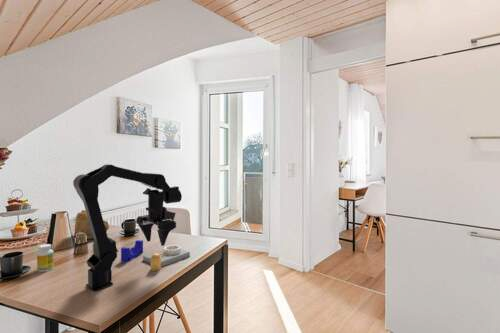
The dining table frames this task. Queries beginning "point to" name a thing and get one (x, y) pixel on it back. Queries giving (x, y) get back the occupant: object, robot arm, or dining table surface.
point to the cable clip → (131, 251)
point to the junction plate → (169, 255)
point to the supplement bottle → (45, 258)
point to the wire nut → (155, 262)
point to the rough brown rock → (85, 224)
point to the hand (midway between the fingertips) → (155, 243)
